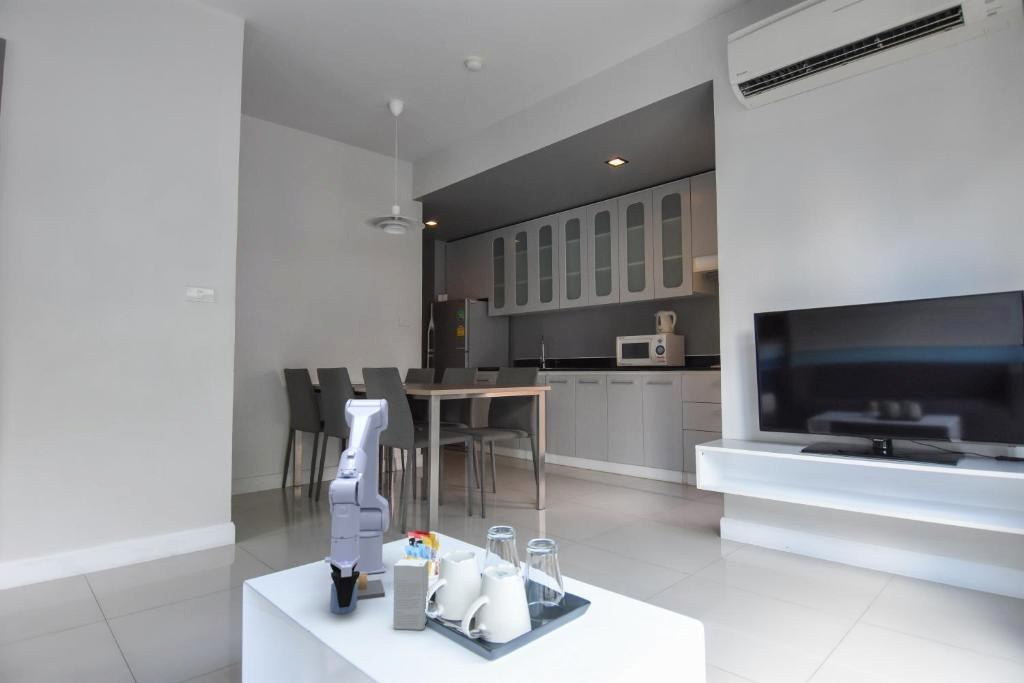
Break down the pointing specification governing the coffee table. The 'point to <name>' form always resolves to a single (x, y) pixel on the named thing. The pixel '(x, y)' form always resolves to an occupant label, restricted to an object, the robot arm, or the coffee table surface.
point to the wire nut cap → (334, 601)
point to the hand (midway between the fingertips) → (343, 601)
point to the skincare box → (410, 594)
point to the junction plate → (369, 588)
